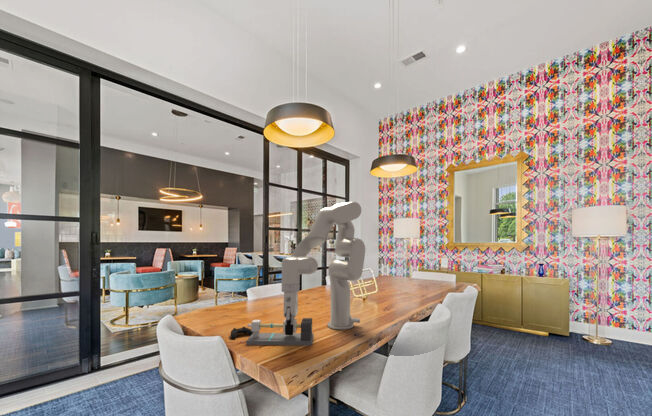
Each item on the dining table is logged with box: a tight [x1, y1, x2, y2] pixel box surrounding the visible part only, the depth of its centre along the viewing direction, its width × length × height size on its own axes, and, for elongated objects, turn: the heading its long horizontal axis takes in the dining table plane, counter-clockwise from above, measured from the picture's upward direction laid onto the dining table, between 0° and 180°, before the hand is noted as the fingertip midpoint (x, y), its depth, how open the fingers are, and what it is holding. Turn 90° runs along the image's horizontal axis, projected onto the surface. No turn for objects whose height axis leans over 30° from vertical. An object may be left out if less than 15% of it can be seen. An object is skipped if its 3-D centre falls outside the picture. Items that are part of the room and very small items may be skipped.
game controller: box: [230, 326, 253, 340], centre depth 125 cm, size 10×5×6 cm
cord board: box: [245, 317, 314, 346], centre depth 119 cm, size 27×10×8 cm, turn 89°
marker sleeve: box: [282, 318, 298, 333], centre depth 119 cm, size 5×4×4 cm
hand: (289, 332), depth 119 cm, fingers closed on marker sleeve, 4 cm apart
